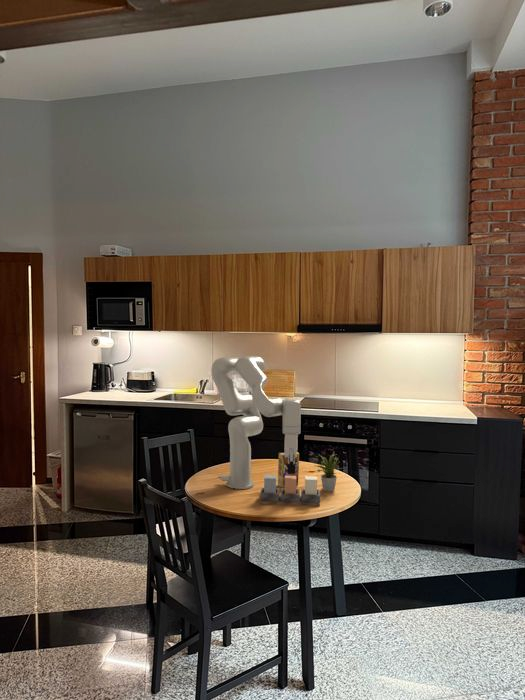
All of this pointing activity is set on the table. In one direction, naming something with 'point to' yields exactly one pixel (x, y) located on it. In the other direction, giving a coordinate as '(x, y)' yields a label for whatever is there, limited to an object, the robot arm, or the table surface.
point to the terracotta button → (290, 484)
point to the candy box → (286, 469)
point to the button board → (290, 498)
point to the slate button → (270, 484)
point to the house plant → (328, 474)
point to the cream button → (311, 485)
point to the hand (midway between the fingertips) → (291, 473)
